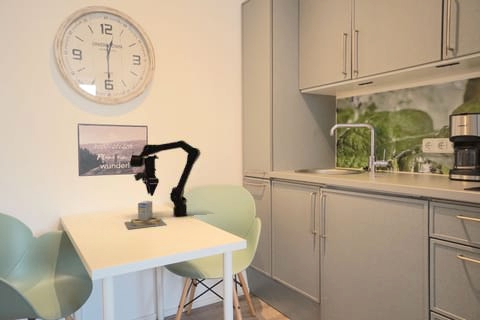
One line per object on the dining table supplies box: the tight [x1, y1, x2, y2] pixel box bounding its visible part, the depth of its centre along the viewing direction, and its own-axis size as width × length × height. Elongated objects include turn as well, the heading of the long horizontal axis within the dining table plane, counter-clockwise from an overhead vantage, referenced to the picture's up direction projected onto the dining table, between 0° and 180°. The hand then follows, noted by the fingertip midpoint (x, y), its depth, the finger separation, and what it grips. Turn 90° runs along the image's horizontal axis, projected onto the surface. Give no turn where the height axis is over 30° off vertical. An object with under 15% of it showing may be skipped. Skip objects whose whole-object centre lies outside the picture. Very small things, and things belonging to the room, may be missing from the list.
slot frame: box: [130, 216, 160, 226], centre depth 163 cm, size 12×8×2 cm
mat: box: [124, 218, 168, 231], centre depth 163 cm, size 18×16×1 cm
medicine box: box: [137, 200, 153, 221], centre depth 163 cm, size 8×4×9 cm, turn 175°
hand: (150, 194), depth 183 cm, fingers open, 9 cm apart
